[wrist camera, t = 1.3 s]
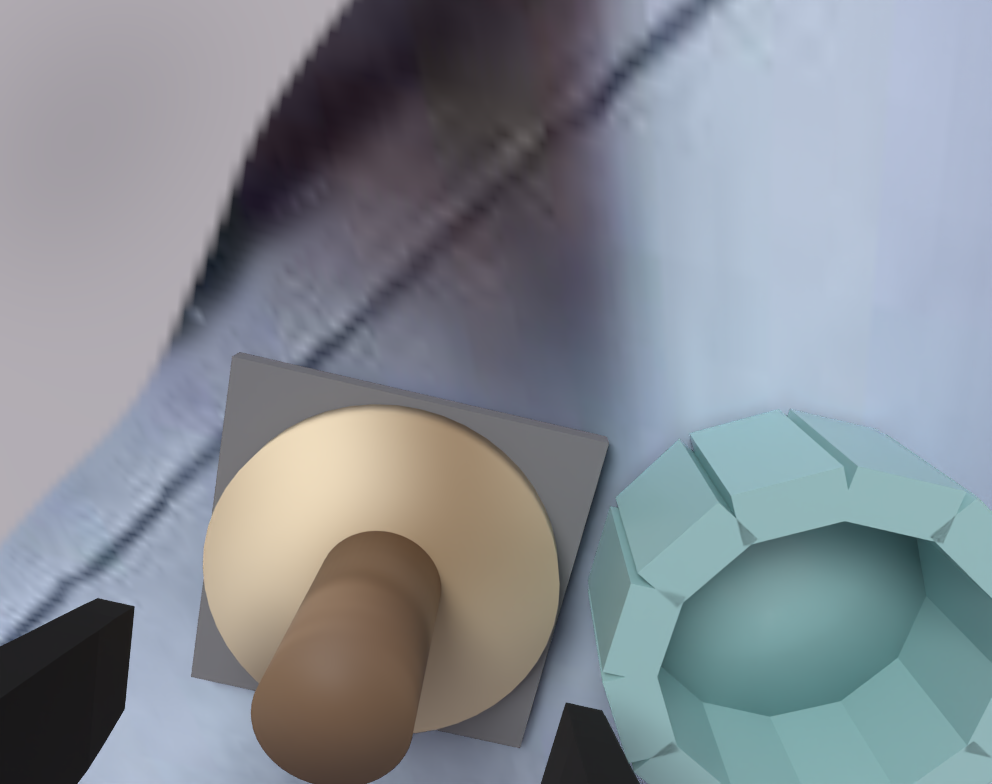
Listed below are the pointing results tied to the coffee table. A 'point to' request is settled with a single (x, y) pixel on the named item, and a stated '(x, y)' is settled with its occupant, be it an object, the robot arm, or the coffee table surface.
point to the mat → (528, 443)
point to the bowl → (797, 611)
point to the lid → (377, 584)
